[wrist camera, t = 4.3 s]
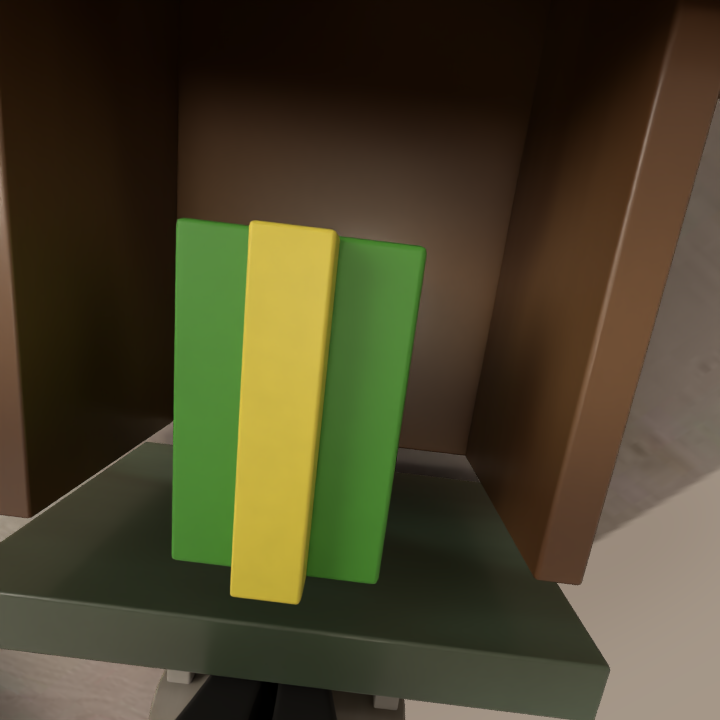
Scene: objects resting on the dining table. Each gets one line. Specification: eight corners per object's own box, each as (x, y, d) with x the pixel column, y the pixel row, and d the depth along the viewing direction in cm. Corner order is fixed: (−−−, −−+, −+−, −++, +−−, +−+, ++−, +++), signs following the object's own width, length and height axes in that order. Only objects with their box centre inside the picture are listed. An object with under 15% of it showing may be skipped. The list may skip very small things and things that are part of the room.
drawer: (465, 624, 13) (540, 893, 7) (146, 584, 13) (-32, 820, 7) (640, -204, 8) (1241, -1299, 3) (144, -260, 8) (-348, -1450, 3)
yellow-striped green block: (374, 445, 10) (378, 617, 5) (263, 432, 10) (149, 588, 5) (398, 267, 9) (436, 241, 4) (275, 252, 9) (149, 207, 4)
